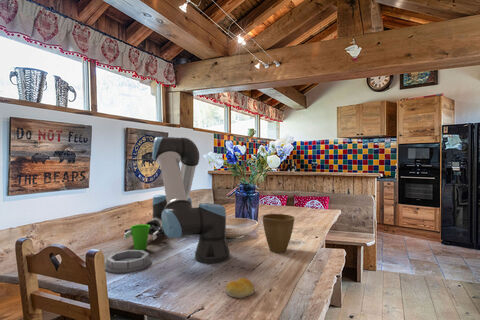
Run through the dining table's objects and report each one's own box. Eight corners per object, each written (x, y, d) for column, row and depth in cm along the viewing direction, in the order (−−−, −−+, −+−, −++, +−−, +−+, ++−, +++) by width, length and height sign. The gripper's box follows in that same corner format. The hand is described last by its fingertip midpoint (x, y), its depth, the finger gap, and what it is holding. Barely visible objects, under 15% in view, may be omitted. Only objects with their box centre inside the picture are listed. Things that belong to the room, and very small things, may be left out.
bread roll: (221, 291, 93) (221, 279, 93) (244, 285, 98) (244, 273, 98) (234, 302, 86) (234, 288, 86) (258, 294, 91) (258, 282, 91)
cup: (138, 254, 129) (138, 229, 129) (126, 250, 134) (126, 227, 134) (154, 248, 137) (154, 225, 137) (141, 245, 142) (141, 223, 142)
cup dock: (159, 264, 116) (159, 256, 116) (113, 277, 104) (113, 267, 104) (139, 254, 129) (139, 246, 129) (97, 264, 117) (97, 255, 117)
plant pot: (282, 258, 124) (282, 221, 124) (255, 251, 134) (255, 216, 134) (300, 250, 135) (300, 216, 135) (274, 244, 145) (274, 212, 145)
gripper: (176, 233, 155) (165, 245, 134) (131, 233, 156) (112, 244, 135) (176, 219, 155) (165, 229, 134) (131, 219, 156) (112, 228, 135)
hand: (138, 236), depth 134 cm, fingers open, 13 cm apart
